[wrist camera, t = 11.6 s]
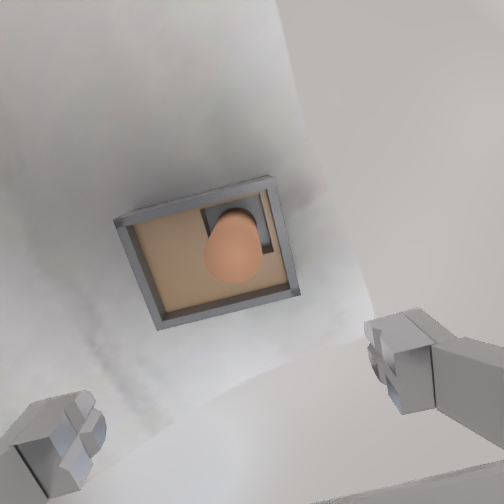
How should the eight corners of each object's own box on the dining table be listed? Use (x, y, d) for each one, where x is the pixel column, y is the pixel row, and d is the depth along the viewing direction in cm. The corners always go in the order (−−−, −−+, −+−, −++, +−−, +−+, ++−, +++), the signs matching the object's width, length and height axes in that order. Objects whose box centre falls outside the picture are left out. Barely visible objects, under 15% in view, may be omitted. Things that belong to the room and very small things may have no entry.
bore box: (169, 306, 33) (157, 330, 28) (133, 210, 30) (112, 219, 25) (291, 275, 33) (300, 294, 28) (268, 174, 29) (274, 177, 25)
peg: (222, 250, 31) (213, 288, 21) (212, 212, 29) (196, 235, 20) (260, 241, 30) (268, 275, 21) (251, 202, 29) (254, 220, 20)
